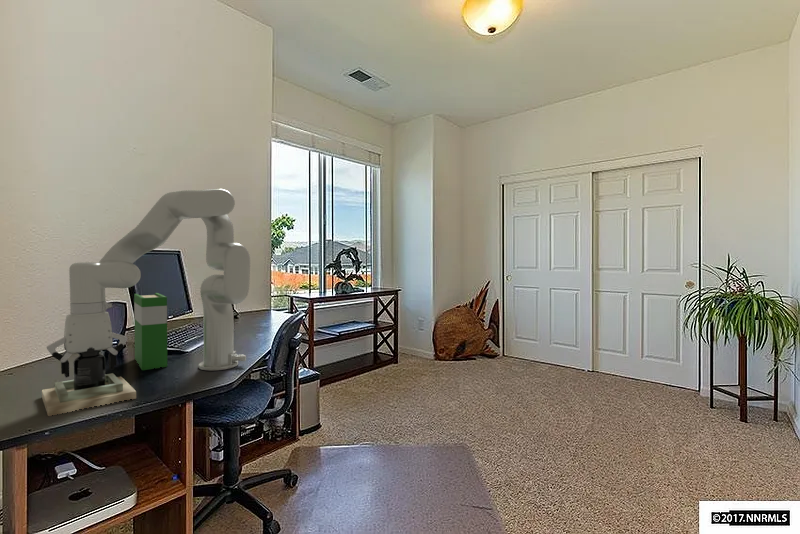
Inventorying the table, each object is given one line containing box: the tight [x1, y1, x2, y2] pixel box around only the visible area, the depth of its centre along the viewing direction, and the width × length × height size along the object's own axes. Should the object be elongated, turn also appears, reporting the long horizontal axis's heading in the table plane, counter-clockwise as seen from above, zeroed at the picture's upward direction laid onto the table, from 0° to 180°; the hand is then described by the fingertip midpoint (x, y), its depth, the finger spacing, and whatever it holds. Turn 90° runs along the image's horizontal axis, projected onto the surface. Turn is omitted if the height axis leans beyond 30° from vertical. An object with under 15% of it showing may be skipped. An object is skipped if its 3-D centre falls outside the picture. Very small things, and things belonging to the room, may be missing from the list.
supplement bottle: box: [72, 347, 106, 391], centre depth 111 cm, size 7×7×12 cm
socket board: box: [41, 372, 137, 417], centre depth 111 cm, size 18×18×4 cm
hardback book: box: [133, 292, 168, 371], centre depth 146 cm, size 18×7×24 cm, turn 39°
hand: (89, 372), depth 111 cm, fingers open, 9 cm apart
